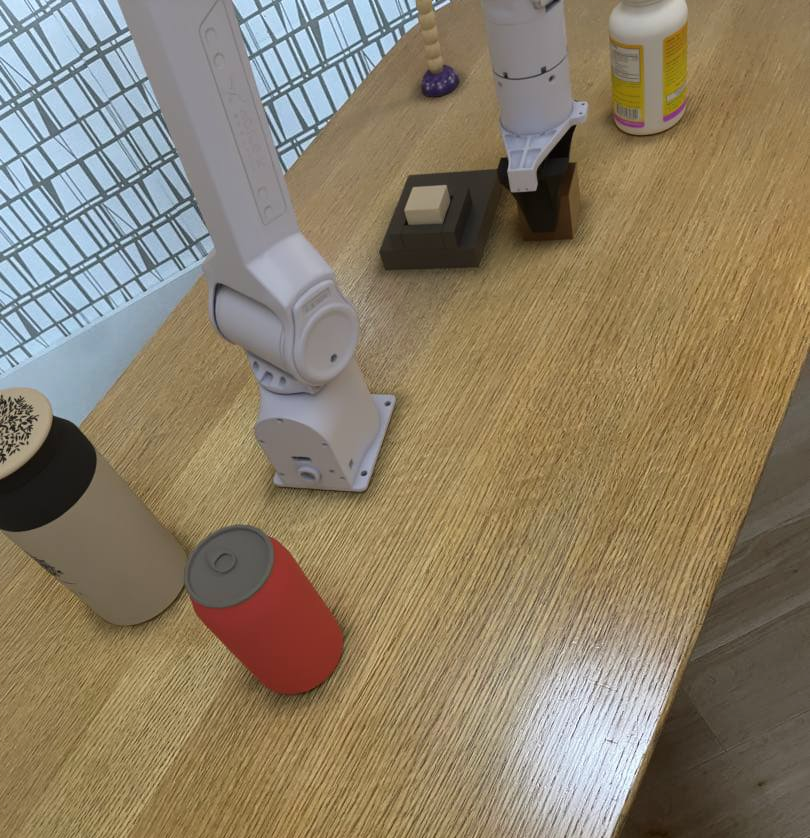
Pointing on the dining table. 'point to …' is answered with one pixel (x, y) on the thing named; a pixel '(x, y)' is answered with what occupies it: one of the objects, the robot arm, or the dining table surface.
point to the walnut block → (567, 210)
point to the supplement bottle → (648, 64)
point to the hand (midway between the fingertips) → (548, 211)
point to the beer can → (263, 608)
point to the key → (427, 205)
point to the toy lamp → (434, 55)
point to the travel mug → (81, 515)
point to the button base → (444, 223)
